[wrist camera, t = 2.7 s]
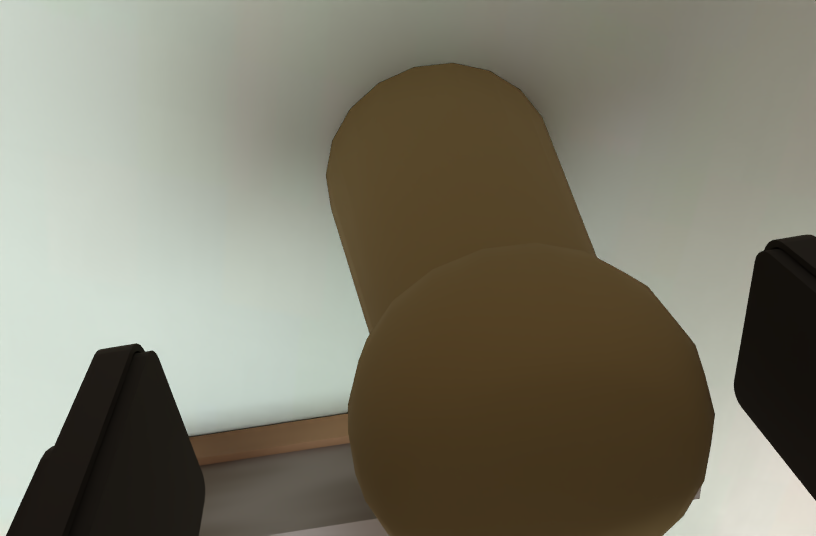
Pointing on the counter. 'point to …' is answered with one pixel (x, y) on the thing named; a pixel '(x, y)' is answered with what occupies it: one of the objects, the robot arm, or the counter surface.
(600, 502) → the olive brown pawn
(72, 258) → the counter surface
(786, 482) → the counter surface
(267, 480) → the track
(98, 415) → the robot arm
